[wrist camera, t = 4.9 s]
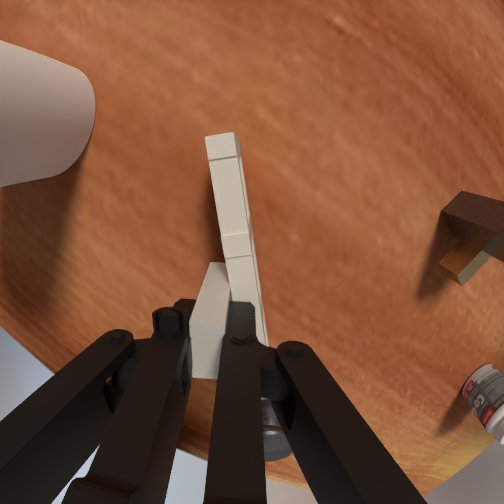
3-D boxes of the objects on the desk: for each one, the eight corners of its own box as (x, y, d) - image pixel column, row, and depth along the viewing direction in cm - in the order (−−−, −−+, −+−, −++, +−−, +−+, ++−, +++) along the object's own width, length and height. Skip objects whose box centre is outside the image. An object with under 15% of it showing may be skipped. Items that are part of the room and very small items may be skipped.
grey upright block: (416, 234, 18) (478, 270, 12) (461, 190, 17) (530, 209, 11) (434, 266, 19) (492, 309, 12) (476, 224, 18) (540, 252, 11)
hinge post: (234, 368, 21) (227, 445, 14) (267, 345, 21) (272, 424, 14) (261, 390, 22) (264, 466, 15) (294, 370, 21) (307, 447, 14)
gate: (269, 349, 21) (273, 398, 16) (252, 351, 21) (252, 400, 16) (239, 139, 16) (233, 132, 12) (218, 143, 17) (204, 136, 12)
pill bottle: (460, 379, 23) (500, 433, 15) (494, 354, 22) (537, 402, 14) (461, 403, 24) (494, 454, 16) (492, 381, 23) (528, 426, 15)
